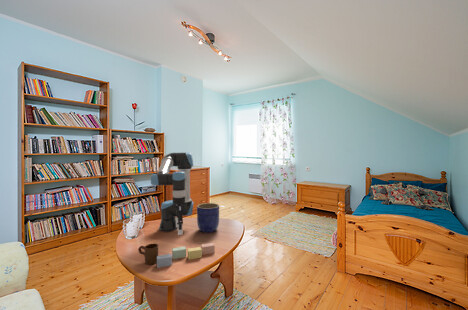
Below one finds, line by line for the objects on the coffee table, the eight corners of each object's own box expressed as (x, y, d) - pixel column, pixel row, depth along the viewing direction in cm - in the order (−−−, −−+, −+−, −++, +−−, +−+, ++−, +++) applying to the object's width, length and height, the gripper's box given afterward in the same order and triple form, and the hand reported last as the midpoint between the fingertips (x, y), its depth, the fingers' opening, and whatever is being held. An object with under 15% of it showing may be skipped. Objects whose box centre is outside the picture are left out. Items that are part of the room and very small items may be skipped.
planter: (192, 232, 171) (192, 207, 170) (204, 225, 188) (204, 202, 187) (212, 235, 163) (212, 209, 163) (223, 228, 180) (222, 204, 180)
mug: (134, 264, 122) (134, 248, 122) (142, 257, 130) (142, 242, 130) (154, 265, 121) (154, 249, 121) (160, 258, 128) (160, 243, 128)
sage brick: (172, 259, 128) (172, 251, 128) (172, 256, 132) (172, 248, 132) (186, 256, 131) (186, 248, 131) (185, 254, 135) (185, 246, 135)
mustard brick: (188, 259, 128) (188, 251, 128) (187, 256, 131) (187, 248, 131) (201, 257, 130) (201, 249, 130) (200, 254, 134) (200, 246, 134)
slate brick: (157, 268, 119) (157, 259, 118) (156, 264, 122) (156, 256, 122) (171, 265, 122) (171, 256, 121) (171, 261, 125) (171, 253, 125)
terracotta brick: (202, 255, 133) (202, 247, 133) (201, 252, 137) (201, 244, 137) (214, 253, 136) (214, 245, 136) (213, 250, 140) (213, 242, 140)
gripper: (171, 193, 141) (171, 224, 142) (174, 201, 118) (174, 239, 118) (182, 192, 144) (183, 223, 144) (187, 200, 121) (187, 237, 121)
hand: (179, 230), depth 131 cm, fingers open, 13 cm apart
